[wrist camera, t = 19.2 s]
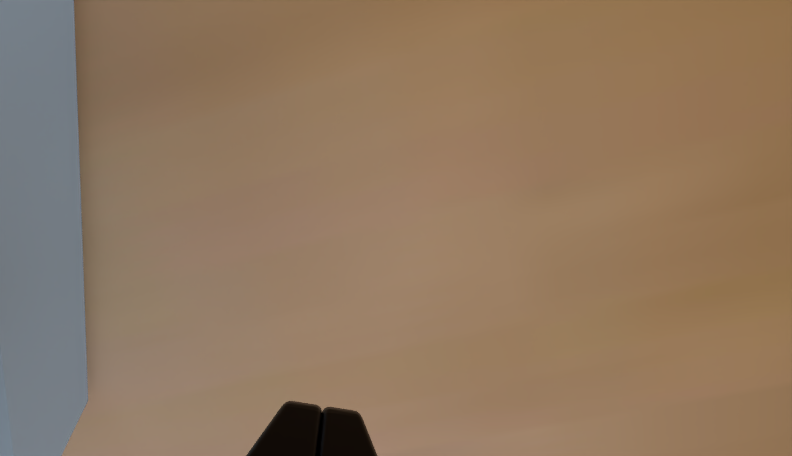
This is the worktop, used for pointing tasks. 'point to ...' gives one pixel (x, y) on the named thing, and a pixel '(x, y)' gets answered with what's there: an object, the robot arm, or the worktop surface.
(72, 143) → the tray
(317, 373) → the worktop surface
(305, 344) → the worktop surface
